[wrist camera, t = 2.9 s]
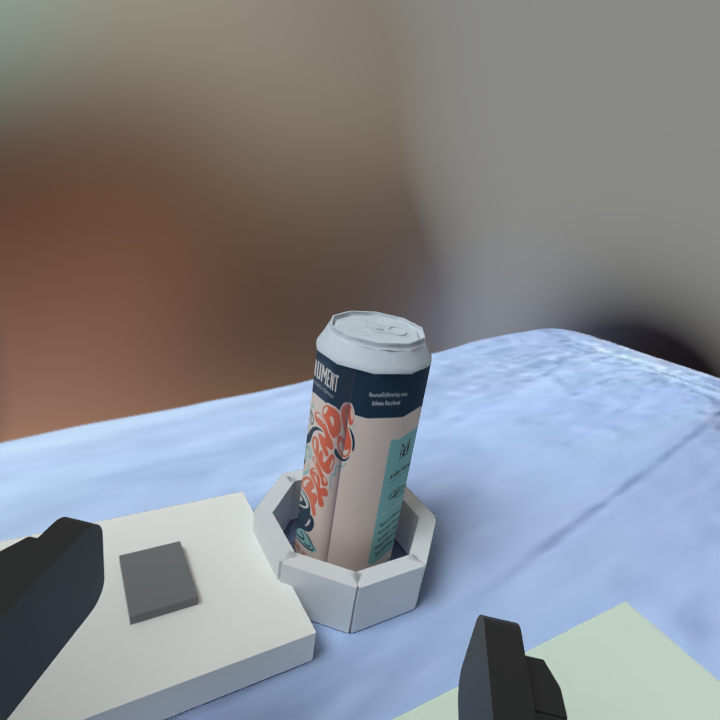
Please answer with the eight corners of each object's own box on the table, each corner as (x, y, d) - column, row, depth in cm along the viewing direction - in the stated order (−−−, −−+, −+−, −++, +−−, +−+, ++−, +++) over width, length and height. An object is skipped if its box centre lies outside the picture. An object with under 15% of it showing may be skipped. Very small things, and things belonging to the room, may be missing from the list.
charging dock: (366, 486, 31) (372, 450, 30) (462, 600, 24) (474, 558, 23) (-111, 595, 20) (-125, 545, 19) (-192, 862, 13) (-220, 803, 12)
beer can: (298, 518, 28) (323, 301, 23) (387, 528, 28) (429, 316, 23) (285, 589, 23) (313, 338, 19) (391, 601, 23) (444, 355, 19)
